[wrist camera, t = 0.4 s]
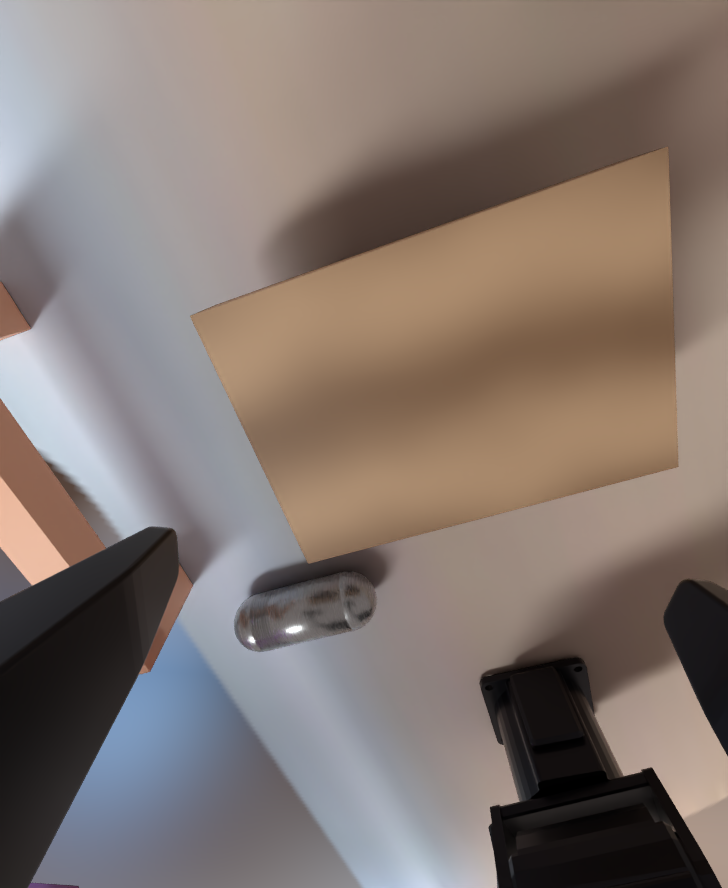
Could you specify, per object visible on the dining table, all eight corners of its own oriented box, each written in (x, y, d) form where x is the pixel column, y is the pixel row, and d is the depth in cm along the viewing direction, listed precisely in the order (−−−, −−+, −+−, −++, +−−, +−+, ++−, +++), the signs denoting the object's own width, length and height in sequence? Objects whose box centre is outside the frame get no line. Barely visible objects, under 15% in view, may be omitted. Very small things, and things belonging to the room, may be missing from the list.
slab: (638, 438, 18) (678, 466, 16) (314, 526, 20) (308, 564, 17) (618, 161, 14) (668, 146, 12) (215, 305, 16) (189, 315, 13)
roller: (366, 554, 24) (366, 594, 21) (382, 593, 25) (384, 636, 23) (233, 588, 25) (217, 630, 22) (254, 625, 26) (242, 669, 24)
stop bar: (193, 585, 25) (150, 671, 20) (161, 593, 25) (111, 680, 20) (1, 282, 18) (-137, 298, 13) (-39, 297, 18) (-189, 319, 13)
